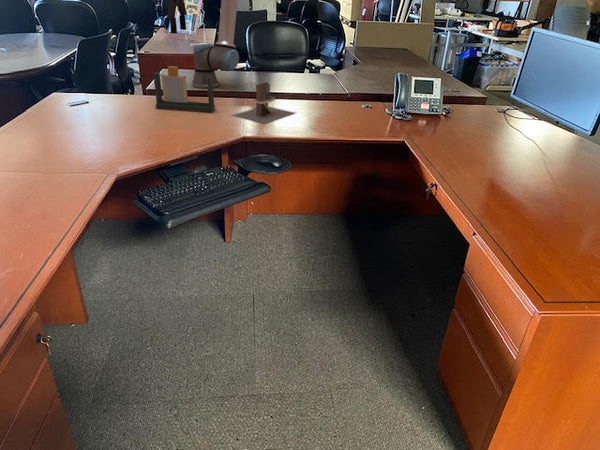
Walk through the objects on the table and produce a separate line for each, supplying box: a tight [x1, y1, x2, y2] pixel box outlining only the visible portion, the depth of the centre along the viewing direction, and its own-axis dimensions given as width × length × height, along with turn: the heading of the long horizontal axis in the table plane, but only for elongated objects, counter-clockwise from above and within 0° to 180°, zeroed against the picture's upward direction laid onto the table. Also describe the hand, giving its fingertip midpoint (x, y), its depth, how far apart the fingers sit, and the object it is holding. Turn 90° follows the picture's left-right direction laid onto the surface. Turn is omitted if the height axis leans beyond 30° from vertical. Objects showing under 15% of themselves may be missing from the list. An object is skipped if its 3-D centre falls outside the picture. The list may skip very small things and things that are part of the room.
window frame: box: [152, 71, 216, 114], centre depth 215 cm, size 6×28×16 cm, turn 84°
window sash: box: [160, 65, 189, 103], centre depth 214 cm, size 3×12×17 cm, turn 84°
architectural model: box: [232, 81, 295, 125], centre depth 214 cm, size 20×25×15 cm
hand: (178, 31), depth 213 cm, fingers open, 13 cm apart
